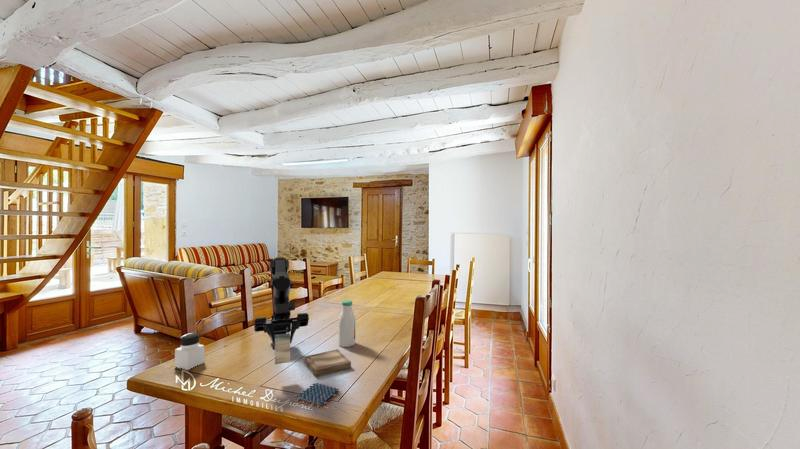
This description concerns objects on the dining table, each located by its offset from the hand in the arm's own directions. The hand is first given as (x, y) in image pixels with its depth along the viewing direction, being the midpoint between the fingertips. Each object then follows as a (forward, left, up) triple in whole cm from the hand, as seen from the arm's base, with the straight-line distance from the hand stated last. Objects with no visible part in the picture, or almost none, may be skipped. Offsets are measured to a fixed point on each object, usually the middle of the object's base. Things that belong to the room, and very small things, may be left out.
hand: (282, 344), depth 113 cm
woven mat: (+16, +8, -14) cm, 23 cm away
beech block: (-1, 0, -7) cm, 7 cm away
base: (-4, +18, -13) cm, 23 cm away
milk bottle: (-20, +33, -14) cm, 41 cm away
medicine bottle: (-32, -28, -14) cm, 45 cm away
